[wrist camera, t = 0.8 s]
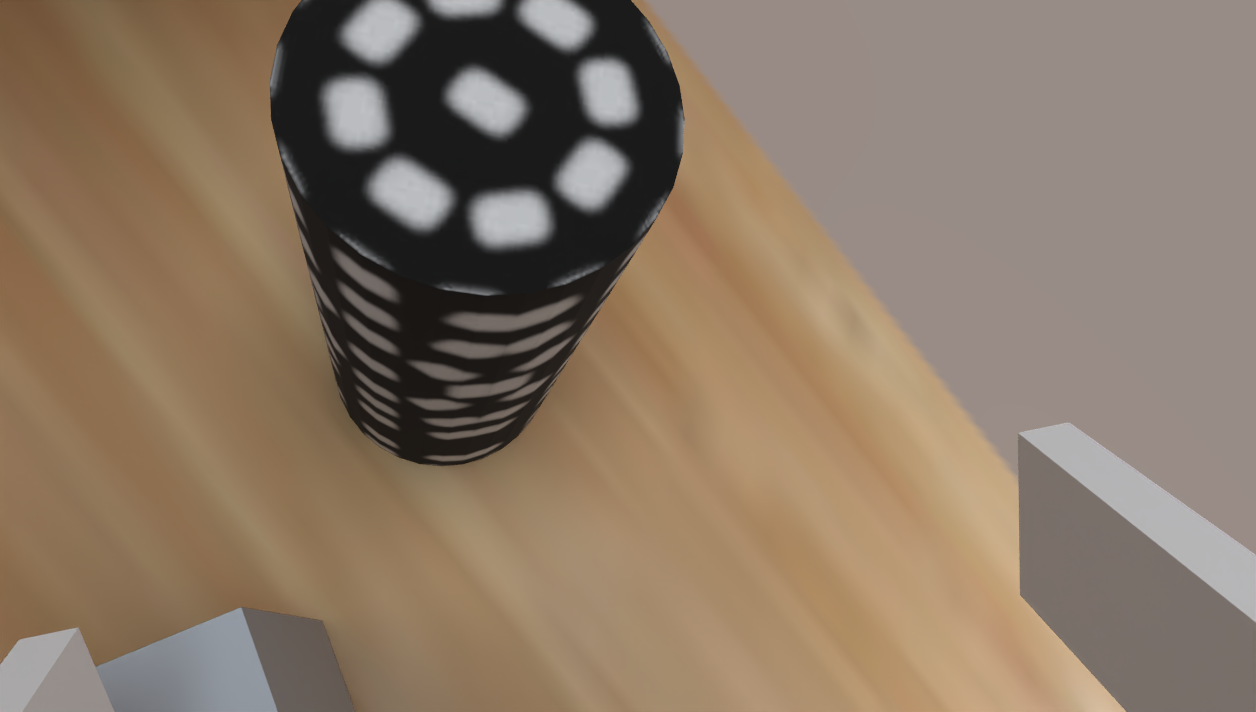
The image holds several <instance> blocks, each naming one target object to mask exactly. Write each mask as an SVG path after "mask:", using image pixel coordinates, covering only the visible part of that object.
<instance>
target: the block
mask: <svg viewBox="0 0 1256 712" xmlns="http://www.w3.org/2000/svg"><path fill="white" fill-rule="evenodd" d="M96 670H97V672H98V674H99V677H100V679H101V681H102V684H103V686H104V688H105V691H106V693H107V695H108V698H109V700H110V702H111V705H112V707H113V709H114V712H355V709H354V707H353V704H352V701H351V698H350V696H349V693H348V690H347V687H346V685H345V682H344V679H343V676H342V674H341V671H340V668H339V665H338V663H337V660H336V657H335V654H334V652H333V649H332V646H331V643H330V641H329V638H328V635H327V632H326V630H325V627H324V624H323V621H321V620H315V619H309V618H303V617H297V616H291V615H285V614H279V613H273V612H267V611H261V610H255V609H249V608H243V607H240V608H238V609H236V610H233V611H231V612H228V613H226V614H223V615H221V616H218V617H216V618H214V619H211V620H209V621H206V622H204V623H201V624H199V625H197V626H194V627H192V628H189V629H187V630H184V631H182V632H179V633H177V634H175V635H172V636H170V637H167V638H165V639H162V640H160V641H157V642H155V643H153V644H150V645H148V646H145V647H143V648H140V649H138V650H135V651H133V652H131V653H128V654H126V655H123V656H121V657H118V658H116V659H114V660H111V661H109V662H106V663H104V664H101V665H99V666H96Z"/></svg>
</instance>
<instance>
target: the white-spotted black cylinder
mask: <svg viewBox="0 0 1256 712" xmlns="http://www.w3.org/2000/svg"><path fill="white" fill-rule="evenodd" d="M270 99H271V121H272V125H273V129H274V133H275V137H276V141H277V145H278V149H279V153H280V157H281V161H282V165H283V169H284V173H285V177H286V181H287V185H288V189H289V193H290V197H291V201H292V205H293V209H294V213H295V217H296V221H297V225H298V229H299V233H300V237H301V241H302V245H303V249H304V253H305V257H306V261H307V265H308V270H309V274H310V278H311V282H312V286H313V290H314V294H315V298H316V302H317V306H318V310H319V314H320V318H321V322H322V326H323V330H324V334H325V338H326V342H327V346H328V350H329V354H330V358H331V362H332V366H333V370H334V374H335V378H336V382H337V386H338V389H339V393H340V397H341V400H342V402H343V403H344V405H345V407H346V409H347V411H348V413H349V415H350V417H351V418H352V420H353V421H354V422H355V423H356V425H357V426H358V427H359V428H360V430H361V431H362V432H363V433H364V434H365V435H366V436H367V437H369V438H370V439H371V440H372V441H373V442H375V443H376V444H377V445H378V446H379V447H381V448H383V449H385V450H386V451H388V452H390V453H392V454H394V455H396V456H398V457H400V458H403V459H406V460H410V461H413V462H416V463H419V464H428V465H437V466H446V465H458V464H465V463H468V462H472V461H475V460H479V459H482V458H485V457H487V456H489V455H490V454H492V453H494V452H496V451H498V450H500V449H502V448H503V447H505V446H506V445H507V444H508V443H510V442H511V441H512V440H513V439H515V438H516V437H517V436H518V435H519V434H520V433H521V432H522V431H523V429H524V428H525V427H526V426H527V425H528V424H529V422H530V421H531V420H532V418H533V417H534V415H535V413H536V412H537V410H538V408H539V407H540V405H541V404H542V402H543V400H544V399H545V397H546V396H547V394H548V392H549V391H550V389H551V387H552V386H553V384H554V383H555V381H556V379H557V378H558V376H559V375H560V373H561V371H562V370H563V368H564V367H565V365H566V363H567V362H568V360H569V358H570V357H571V355H572V354H573V352H574V350H575V349H576V347H577V346H578V344H579V342H580V341H581V339H582V337H583V336H584V334H585V333H586V331H587V329H588V328H589V326H590V325H591V323H592V321H593V320H594V318H595V316H596V315H597V313H598V312H599V310H600V308H601V307H602V305H603V304H604V302H605V300H606V299H607V297H608V296H609V294H610V292H611V291H612V289H613V287H614V286H615V284H616V283H617V281H618V279H619V278H620V276H621V275H622V273H623V271H624V270H625V268H626V266H627V265H628V263H629V262H630V260H631V258H632V257H633V255H634V254H635V252H636V250H637V249H638V247H639V245H640V244H641V242H642V241H643V239H644V237H645V236H646V234H647V233H648V231H649V229H650V228H651V226H652V225H653V223H654V221H655V220H656V218H657V216H658V214H659V213H660V211H661V209H662V207H663V205H664V203H665V201H666V200H667V198H668V196H669V194H670V192H671V190H672V189H673V186H674V183H675V179H676V176H677V172H678V169H679V165H680V161H681V158H682V154H683V139H684V121H685V119H684V112H683V106H682V99H681V93H680V86H679V83H678V80H677V77H676V75H675V72H674V69H673V66H672V64H671V61H670V58H669V56H668V53H667V51H666V49H665V47H664V46H663V44H662V42H661V41H660V39H659V37H658V36H657V34H656V32H655V31H654V29H653V27H652V26H651V24H650V22H649V21H648V20H647V18H646V17H645V16H644V15H643V14H642V13H641V12H640V10H639V9H638V8H637V7H636V6H635V5H634V3H633V2H632V1H631V0H301V2H300V3H299V4H298V6H297V7H296V8H295V9H294V11H293V12H292V14H291V16H290V19H289V21H288V23H287V25H286V27H285V29H284V32H283V34H282V36H281V38H280V40H279V42H278V44H277V49H276V54H275V59H274V64H273V69H272V73H271V78H270Z"/></svg>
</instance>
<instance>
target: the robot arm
mask: <svg viewBox="0 0 1256 712" xmlns="http://www.w3.org/2000/svg"><path fill="white" fill-rule="evenodd" d="M1018 470H1019V548H1020V595H1021V596H1022V597H1023V598H1024V599H1025V601H1026V602H1027V603H1028V604H1029V605H1030V606H1031V607H1032V608H1033V609H1034V610H1035V612H1036V613H1037V614H1038V615H1039V616H1040V617H1041V618H1042V619H1043V620H1044V621H1045V623H1046V624H1047V625H1048V626H1049V627H1050V628H1051V629H1052V630H1053V631H1054V632H1055V634H1056V635H1057V636H1058V637H1059V638H1060V639H1061V640H1062V641H1063V642H1064V643H1065V645H1066V646H1067V647H1068V648H1069V649H1070V650H1071V651H1072V652H1073V653H1074V654H1075V656H1076V657H1077V658H1078V659H1079V660H1080V661H1081V662H1082V663H1083V664H1084V665H1085V666H1086V668H1087V669H1088V670H1089V671H1090V672H1091V673H1092V674H1093V675H1094V676H1095V677H1096V679H1097V680H1098V681H1099V682H1100V683H1101V684H1102V685H1103V686H1104V687H1105V688H1106V690H1107V691H1108V692H1109V693H1110V694H1111V695H1112V696H1113V697H1114V698H1115V699H1116V701H1117V702H1118V703H1119V704H1120V705H1121V706H1122V707H1123V708H1124V709H1125V710H1126V712H1256V555H1255V554H1254V553H1252V552H1251V551H1250V550H1248V549H1247V548H1245V547H1244V546H1243V545H1241V544H1240V543H1238V542H1237V541H1235V540H1234V539H1233V538H1231V537H1230V536H1228V535H1227V534H1226V533H1224V532H1223V531H1221V530H1220V529H1218V528H1217V527H1216V526H1214V525H1213V524H1211V523H1210V522H1209V521H1207V520H1206V519H1204V518H1203V517H1202V516H1200V515H1199V514H1197V513H1196V512H1195V511H1193V510H1192V509H1190V508H1189V507H1188V506H1186V505H1185V504H1183V503H1182V502H1180V501H1179V500H1178V499H1176V498H1175V497H1173V496H1172V495H1171V494H1169V493H1168V492H1166V491H1165V490H1164V489H1162V488H1161V487H1159V486H1158V485H1156V484H1155V483H1154V482H1152V481H1151V480H1149V479H1148V478H1147V477H1145V476H1144V475H1142V474H1141V473H1140V472H1138V471H1137V470H1135V469H1134V468H1132V467H1131V466H1130V465H1128V464H1127V463H1125V462H1124V461H1123V460H1121V459H1120V458H1118V457H1117V456H1115V455H1114V454H1112V453H1111V452H1110V451H1108V450H1107V449H1106V448H1104V447H1103V446H1101V445H1100V444H1099V443H1097V442H1096V441H1094V440H1093V439H1092V438H1090V437H1089V436H1087V435H1086V434H1085V433H1083V432H1082V431H1080V430H1079V429H1078V428H1076V427H1075V426H1073V425H1072V424H1070V423H1069V422H1068V423H1063V424H1058V425H1054V426H1049V427H1044V428H1039V429H1034V430H1029V431H1025V432H1020V433H1018ZM0 712H114V709H113V707H112V705H111V702H110V700H109V698H108V695H107V693H106V691H105V688H104V686H103V684H102V681H101V679H100V677H99V674H98V672H97V670H96V667H95V665H94V663H93V660H92V658H91V656H90V653H89V651H88V649H87V646H86V644H85V642H84V639H83V637H82V635H81V632H80V630H79V628H73V629H68V630H63V631H58V632H53V633H49V634H44V635H39V636H34V637H29V638H24V639H20V640H18V642H17V643H16V644H15V646H14V647H13V648H12V650H11V651H10V653H9V654H8V655H7V657H6V658H5V659H4V661H3V662H2V663H1V665H0Z"/></svg>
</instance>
